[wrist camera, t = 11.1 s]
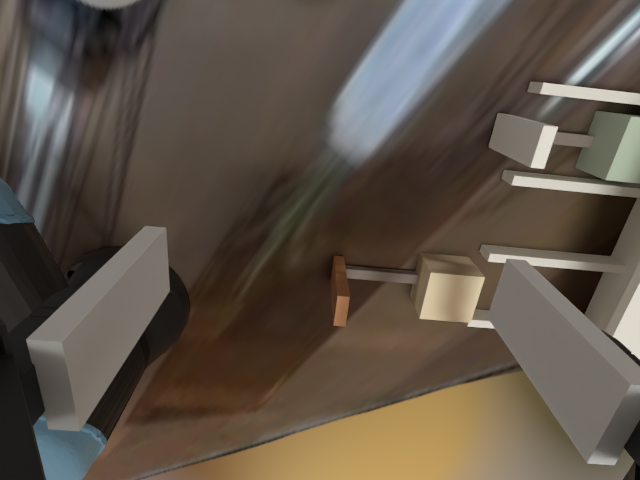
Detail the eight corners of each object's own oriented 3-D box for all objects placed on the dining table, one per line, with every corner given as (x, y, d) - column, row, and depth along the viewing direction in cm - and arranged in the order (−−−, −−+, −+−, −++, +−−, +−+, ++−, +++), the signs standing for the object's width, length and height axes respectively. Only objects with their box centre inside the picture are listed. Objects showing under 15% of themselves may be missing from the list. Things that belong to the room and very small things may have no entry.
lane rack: (460, 314, 51) (496, 376, 41) (530, 81, 39) (603, 87, 29) (587, 324, 52) (652, 388, 42) (691, 100, 40) (815, 112, 30)
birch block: (329, 288, 49) (332, 335, 41) (335, 244, 47) (339, 285, 38) (456, 299, 50) (485, 347, 41) (468, 256, 47) (501, 298, 39)
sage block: (483, 158, 43) (525, 181, 34) (500, 99, 40) (549, 109, 32) (627, 173, 43) (702, 199, 35) (651, 116, 41) (738, 130, 32)
